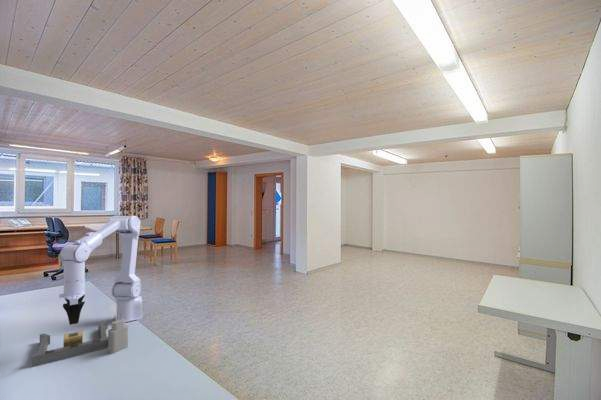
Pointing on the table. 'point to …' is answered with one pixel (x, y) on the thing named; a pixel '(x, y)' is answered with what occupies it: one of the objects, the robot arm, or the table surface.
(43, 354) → the grey square frame
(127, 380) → the table surface
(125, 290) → the robot arm
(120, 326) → the power adapter
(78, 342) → the brass cube with recess
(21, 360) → the table surface
